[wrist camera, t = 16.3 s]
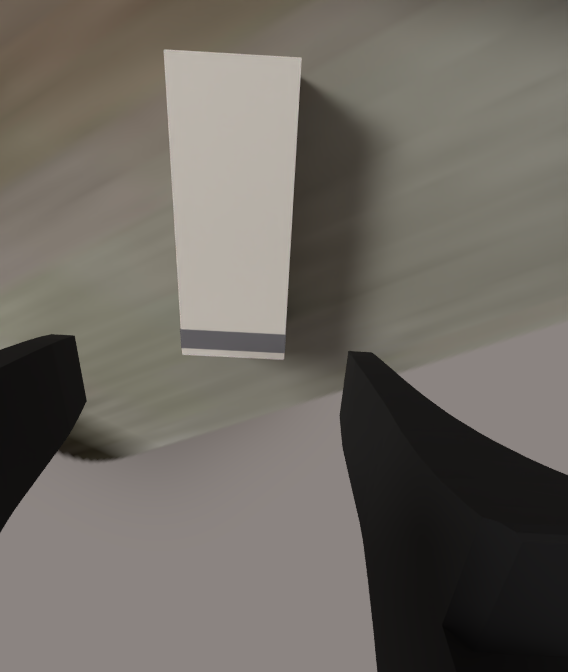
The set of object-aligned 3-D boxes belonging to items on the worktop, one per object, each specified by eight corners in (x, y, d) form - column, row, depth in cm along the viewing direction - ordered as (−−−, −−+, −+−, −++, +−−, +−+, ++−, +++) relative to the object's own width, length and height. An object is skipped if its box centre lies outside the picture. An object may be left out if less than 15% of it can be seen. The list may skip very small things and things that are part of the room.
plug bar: (299, 75, 15) (302, 57, 12) (285, 324, 19) (284, 359, 16) (189, 68, 15) (162, 49, 12) (199, 319, 19) (181, 354, 16)
